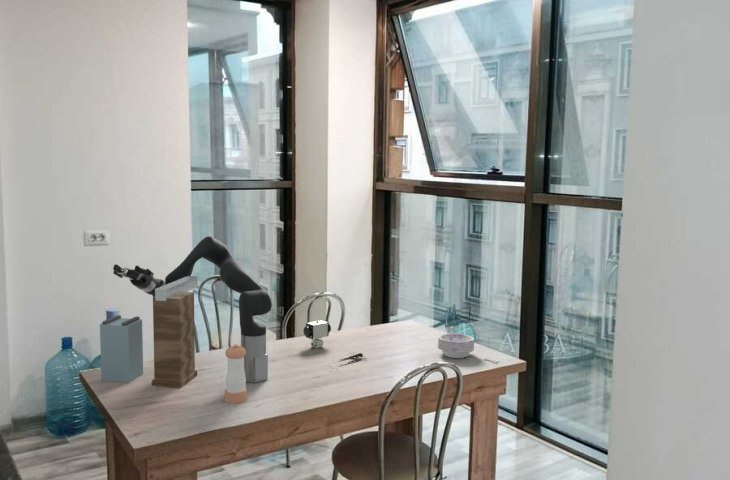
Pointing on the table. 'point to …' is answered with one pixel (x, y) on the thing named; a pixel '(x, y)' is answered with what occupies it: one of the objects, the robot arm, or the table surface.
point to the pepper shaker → (235, 375)
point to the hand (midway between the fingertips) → (125, 267)
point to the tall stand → (174, 341)
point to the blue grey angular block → (121, 349)
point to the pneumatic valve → (317, 332)
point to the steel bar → (176, 288)
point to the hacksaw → (355, 358)
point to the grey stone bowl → (456, 345)
